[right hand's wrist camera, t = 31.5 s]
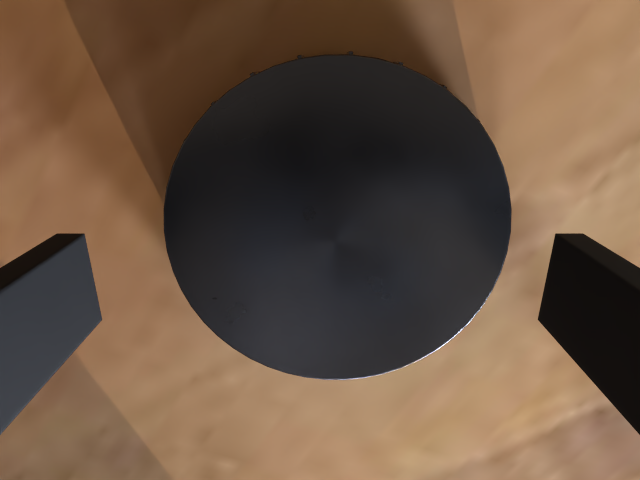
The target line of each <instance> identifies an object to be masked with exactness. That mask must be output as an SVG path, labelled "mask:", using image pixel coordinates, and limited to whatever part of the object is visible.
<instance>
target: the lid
mask: <svg viewBox="0 0 640 480" xmlns="http://www.w3.org/2000/svg"><path fill="white" fill-rule="evenodd" d="M297 57H298V59H296V60H292V61H289V62H285V63H282V64H279V65H275V66H273V67H270V68H268V69H266V70H264V71H262V72H254V73H251V74H250V76H251V77H249V78H248V79H246V80H244V81H243V82H241V83H240V84H238V85H237V86H235V87H234V88H232V89H231V90H229V91H228V92H227V93H226V94H224V95H223V96H222V97H221V98H220V99H219V100H217V101H214V102H213V103H212V104H211V105H212V106H211V107H210V108H209V109H208V110H207V111H206V112H205V114H204V115H203V116H202V117H201V118H200V119H199V121H198V122H197V123H196V124H195V125H194V127H193V128H192V130H191V132H190V133H189V135H188V136H187V138H186V139H185V140H184V143H183V144H182V146H181V148H180V151H179V153H178V155H177V157H176V160H175V162H174V164H173V167H172V170H171V174H170V177H169V181H168V184H167V188H166V196H165V203H164V234H165V241H166V248H167V253H168V256H169V260H170V263H171V266H172V270H173V273H174V275H175V277H176V279H177V282H178V284H179V286H180V288H181V290H182V292H183V294H184V295H185V297H186V299H187V300H188V302H189V304H190V305H191V307H192V308H193V309H194V311H195V312H196V313H197V314H198V316H199V317H200V318H201V319H202V321H203V322H204V323H205V324H206V325H207V326H208V327H209V328H210V329H211V330H212V331H213V332H214V333H215V334H216V335H217V336H218V337H219V338H221V339H222V340H223V341H225V342H226V343H227V344H228V345H230V346H231V347H232V348H234V349H235V350H237V351H239V352H240V353H242V354H243V355H245V356H247V357H248V358H250V359H252V360H254V361H256V362H259V363H261V364H263V365H265V366H267V367H270V368H273V369H276V370H279V371H282V372H285V373H288V374H293V375H297V376H302V377H307V378H315V379H324V380H347V379H357V378H365V377H370V376H375V375H380V374H384V373H387V372H391V371H394V370H397V369H400V368H403V367H405V366H407V365H409V364H412V363H414V362H416V361H418V360H421V359H422V358H424V357H426V356H427V355H429V354H431V353H433V352H434V351H436V350H438V349H439V348H440V347H442V346H443V345H444V344H446V343H447V342H448V341H450V340H451V339H452V338H454V337H455V336H456V335H457V334H458V333H459V332H460V331H461V330H462V329H463V328H464V327H465V326H466V325H467V324H468V323H469V322H470V321H471V320H472V318H473V317H474V316H475V315H476V314H477V312H478V311H479V310H480V309H481V307H482V306H483V304H484V303H485V301H486V300H487V298H488V296H489V295H490V293H491V292H492V290H493V288H494V286H495V284H496V281H497V279H498V277H499V275H500V273H501V270H502V267H503V264H504V261H505V258H506V254H507V250H508V244H509V239H510V233H511V201H510V192H509V186H508V182H507V178H506V174H505V171H504V167H503V164H502V162H501V159H500V157H499V155H498V152H497V150H496V148H495V145H494V144H493V142H492V140H491V139H490V137H489V136H488V134H487V132H486V131H485V129H484V127H483V126H482V124H481V123H480V121H479V120H478V119H477V118H476V117H475V116H474V115H473V114H472V113H471V111H470V110H469V109H468V108H467V107H466V106H465V105H464V104H463V103H462V102H461V101H460V100H458V99H457V98H456V97H455V96H454V95H453V94H452V93H450V92H449V91H448V90H447V89H446V88H447V87H446V86H444V85H439V84H438V83H436V82H434V81H433V80H431V79H430V78H428V77H427V76H425V75H423V74H420V73H418V72H416V71H414V70H412V69H409V68H407V67H405V66H403V63H402V62H393V63H392V62H389V61H386V60H382V59H379V58H372V57H365V56H358V55H353V52H350V51H349V52H347V55H319V56H313V57H306V58H304V56H303V55H299V56H297Z"/></svg>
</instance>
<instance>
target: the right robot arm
mask: <svg viewBox="0 0 640 480" xmlns="http://www.w3.org/2000/svg"><path fill="white" fill-rule="evenodd" d="M101 320H102V317H101V312H100V307H99V302H98V297H97V292H96V287H95V283H94V278H93V273H92V268H91V263H90V258H89V253H88V249H87V244H86V239H85V234H56V235H54V236H52V237H51V238H49V239H47V240H46V241H44V242H42V243H41V244H39V245H37V246H36V247H34V248H33V249H31V250H29V251H28V252H26V253H24V254H23V255H21V256H19V257H18V258H16V259H14V260H13V261H11V262H10V263H8V264H6V265H5V266H3V267H1V268H0V434H1V433H2V432H3V431H4V430H5V429H6V428H7V427H8V425H9V424H10V423H11V422H12V421H13V420H14V419H15V418H16V416H17V415H18V414H19V413H20V412H21V411H22V410H23V408H24V407H25V406H26V405H27V404H28V403H29V402H30V401H31V399H32V398H33V397H34V396H35V395H36V394H37V393H38V392H39V390H40V389H41V388H42V387H43V386H44V385H45V384H46V382H47V381H48V380H49V379H50V378H51V377H52V376H53V375H54V373H55V372H56V371H57V370H58V369H59V368H60V367H61V366H62V364H63V363H64V362H65V361H66V360H67V359H68V358H69V356H70V355H71V354H72V353H73V352H74V351H75V350H76V349H77V347H78V346H79V345H80V344H81V343H82V342H83V341H84V340H85V338H86V337H87V336H88V335H89V334H90V333H91V332H92V331H93V329H94V328H95V327H96V326H97V325H98V324H99V323H100V321H101ZM538 320H539V321H540V323H541V324H542V325H543V326H544V327H545V328H546V329H547V331H548V332H549V333H550V334H551V335H552V336H553V337H554V338H555V340H556V341H557V342H558V343H559V344H560V345H561V346H562V347H563V349H564V350H565V351H566V352H567V353H568V354H569V355H570V356H571V358H572V359H573V360H574V361H575V362H576V363H577V364H578V366H579V367H580V368H581V369H582V370H583V371H584V372H585V373H586V375H587V376H588V377H589V378H590V379H591V380H592V381H593V382H594V384H595V385H596V386H597V387H598V388H599V389H600V390H601V392H602V393H603V394H604V395H605V396H606V397H607V398H608V399H609V401H610V402H611V403H612V404H613V405H614V406H615V407H616V408H617V410H618V411H619V412H620V413H621V414H622V415H623V416H624V418H625V419H626V420H627V421H628V422H629V423H630V424H631V425H632V427H633V428H634V429H635V430H636V431H637V432H638V433H639V434H640V268H639V267H637V266H635V265H634V264H632V263H630V262H629V261H627V260H626V259H624V258H622V257H621V256H619V255H617V254H616V253H614V252H612V251H611V250H609V249H607V248H606V247H604V246H603V245H601V244H599V243H598V242H596V241H594V240H593V239H591V238H589V237H588V236H586V235H584V234H555V239H554V244H553V249H552V253H551V258H550V263H549V268H548V273H547V278H546V283H545V287H544V292H543V297H542V302H541V307H540V312H539V317H538Z"/></svg>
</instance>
